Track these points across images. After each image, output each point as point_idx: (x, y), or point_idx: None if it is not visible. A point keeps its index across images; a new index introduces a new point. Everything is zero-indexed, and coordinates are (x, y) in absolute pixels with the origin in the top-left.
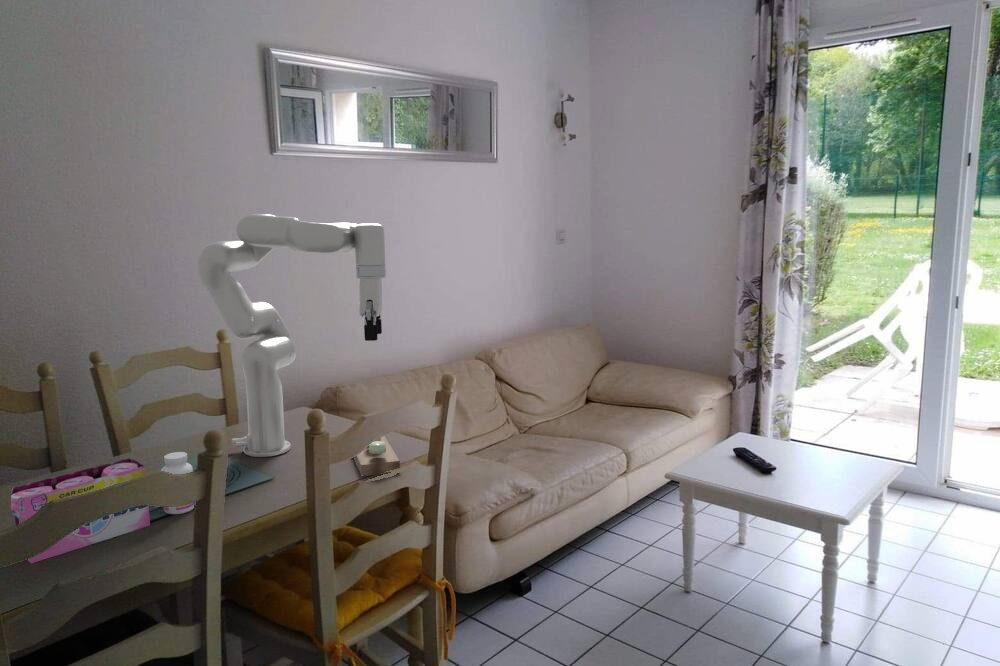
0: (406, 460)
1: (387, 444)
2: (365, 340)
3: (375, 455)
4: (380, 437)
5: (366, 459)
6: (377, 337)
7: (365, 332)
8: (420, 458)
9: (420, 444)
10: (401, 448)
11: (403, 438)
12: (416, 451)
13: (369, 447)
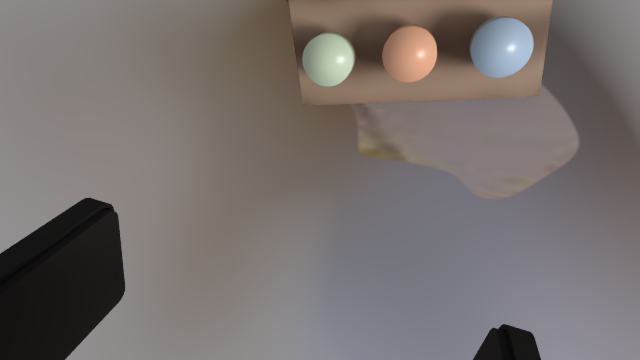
0: (382, 124)
1: (440, 94)
2: (92, 199)
3: (355, 48)
4: (395, 77)
5: (329, 19)
6: (106, 311)
7: (18, 255)
8: (386, 158)
9: (493, 180)
10: (480, 129)
11: (570, 150)
12: (440, 160)
13: (321, 34)
